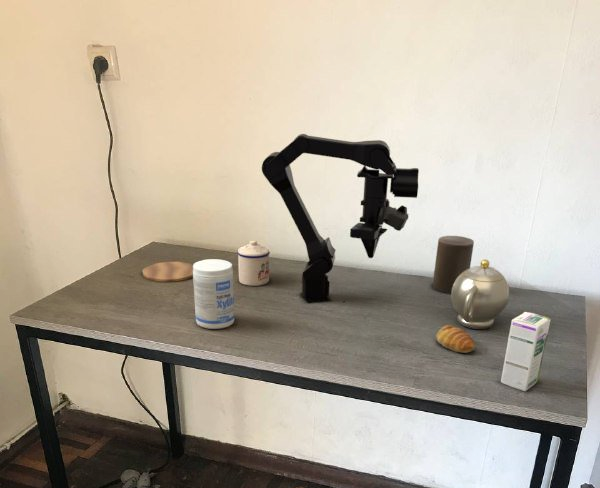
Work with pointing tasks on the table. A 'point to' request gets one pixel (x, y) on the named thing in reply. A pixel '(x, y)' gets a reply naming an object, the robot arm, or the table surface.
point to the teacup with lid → (253, 264)
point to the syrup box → (525, 350)
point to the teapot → (479, 296)
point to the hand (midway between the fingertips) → (370, 257)
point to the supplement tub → (213, 293)
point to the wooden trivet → (168, 271)
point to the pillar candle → (451, 261)
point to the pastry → (455, 339)
